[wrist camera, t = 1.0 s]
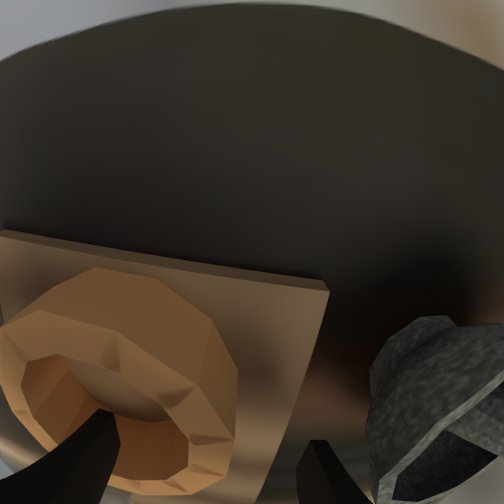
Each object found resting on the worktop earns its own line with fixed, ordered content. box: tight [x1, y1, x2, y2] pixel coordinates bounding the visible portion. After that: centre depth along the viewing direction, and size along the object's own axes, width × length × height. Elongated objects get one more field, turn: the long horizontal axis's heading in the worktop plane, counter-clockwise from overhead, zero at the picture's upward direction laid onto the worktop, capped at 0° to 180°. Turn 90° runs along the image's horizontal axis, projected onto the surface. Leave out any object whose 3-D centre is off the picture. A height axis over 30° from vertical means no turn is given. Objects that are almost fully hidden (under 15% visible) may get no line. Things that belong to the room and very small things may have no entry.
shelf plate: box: [0, 229, 330, 504], centre depth 13 cm, size 22×16×5 cm
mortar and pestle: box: [365, 315, 504, 504], centre depth 8 cm, size 11×9×12 cm
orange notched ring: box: [0, 267, 238, 496], centre depth 10 cm, size 10×10×4 cm
